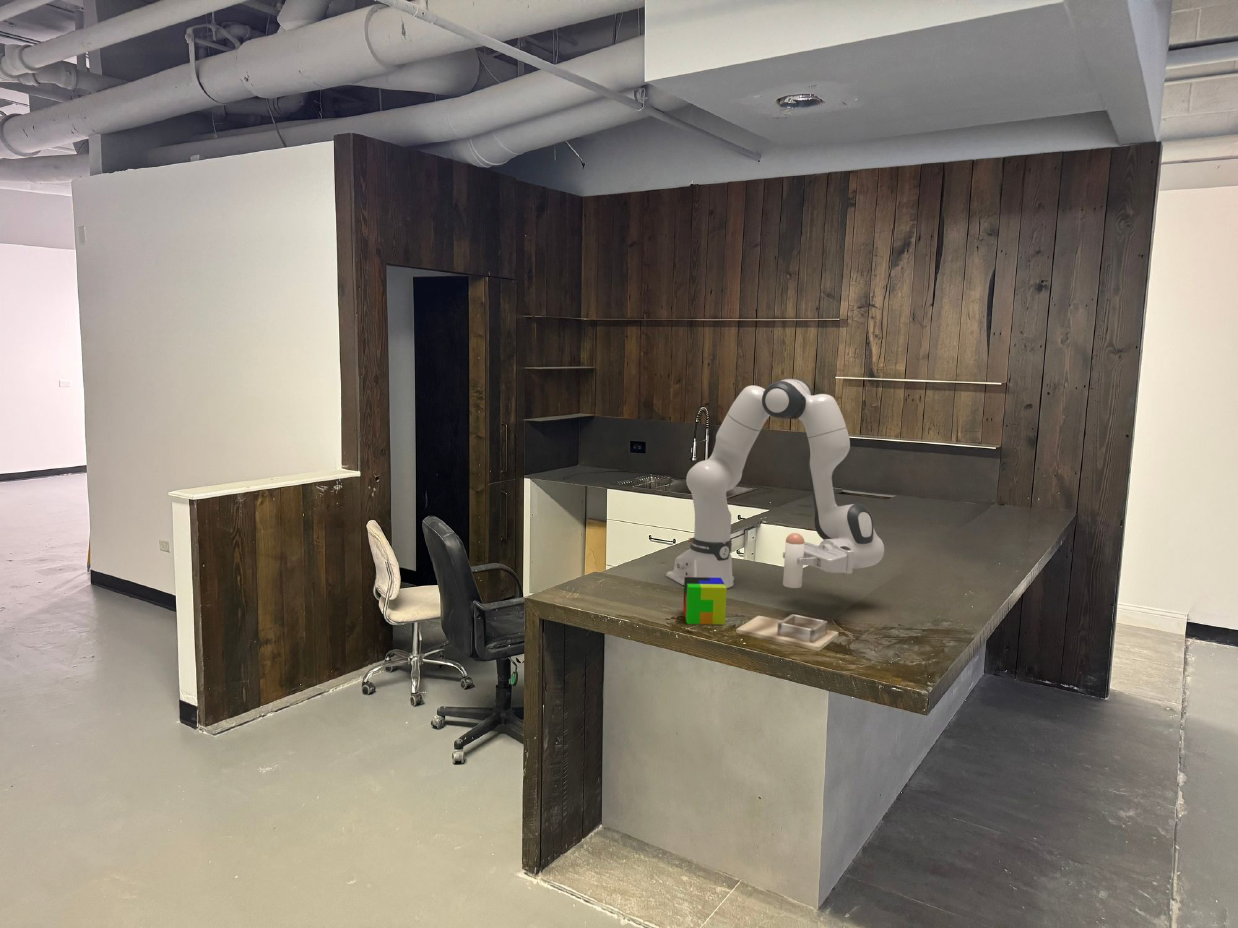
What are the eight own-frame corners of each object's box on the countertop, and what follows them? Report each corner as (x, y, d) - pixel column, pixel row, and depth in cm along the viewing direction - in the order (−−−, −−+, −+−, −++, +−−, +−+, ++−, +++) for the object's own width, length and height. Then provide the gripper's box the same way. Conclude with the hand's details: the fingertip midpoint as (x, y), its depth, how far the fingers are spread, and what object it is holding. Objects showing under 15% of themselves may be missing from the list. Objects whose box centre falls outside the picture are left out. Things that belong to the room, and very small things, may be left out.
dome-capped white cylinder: (779, 584, 233) (782, 532, 231) (792, 581, 236) (795, 530, 234) (792, 588, 229) (795, 535, 227) (805, 586, 232) (809, 534, 230)
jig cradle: (736, 632, 218) (736, 617, 218) (758, 619, 230) (759, 604, 230) (818, 651, 207) (819, 635, 206) (838, 635, 218) (839, 620, 218)
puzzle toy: (719, 612, 235) (720, 577, 233) (725, 624, 225) (726, 587, 224) (683, 612, 234) (684, 576, 233) (687, 624, 225) (688, 587, 223)
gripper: (809, 535, 245) (769, 538, 240) (857, 552, 227) (815, 556, 221) (808, 556, 246) (768, 560, 241) (855, 575, 228) (813, 579, 222)
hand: (791, 558), depth 231 cm, fingers closed on dome-capped white cylinder, 5 cm apart
